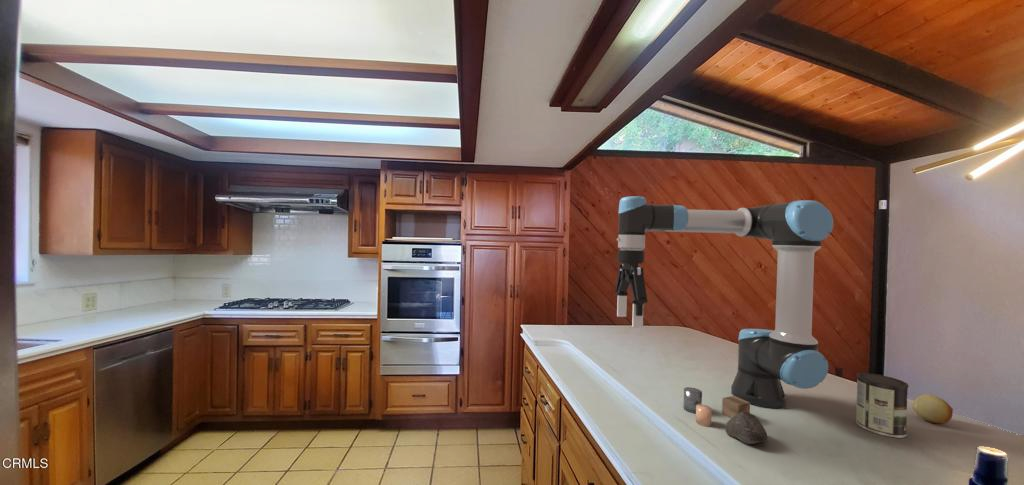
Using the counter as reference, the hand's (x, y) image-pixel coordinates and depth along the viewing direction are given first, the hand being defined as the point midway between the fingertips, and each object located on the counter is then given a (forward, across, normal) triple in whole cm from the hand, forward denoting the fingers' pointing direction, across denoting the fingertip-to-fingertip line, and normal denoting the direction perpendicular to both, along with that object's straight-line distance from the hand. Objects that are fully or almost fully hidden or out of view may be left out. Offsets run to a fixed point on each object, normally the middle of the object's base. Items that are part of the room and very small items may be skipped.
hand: (629, 321), depth 107 cm
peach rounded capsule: (+28, +4, +21) cm, 35 cm away
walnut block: (+28, -1, +33) cm, 43 cm away
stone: (+28, +12, +29) cm, 42 cm away
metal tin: (+28, -4, +22) cm, 36 cm away
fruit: (+28, +1, +91) cm, 95 cm away
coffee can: (+28, +5, +71) cm, 77 cm away
